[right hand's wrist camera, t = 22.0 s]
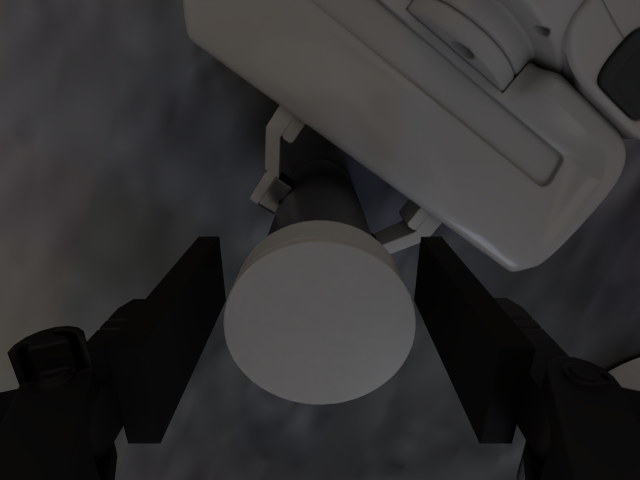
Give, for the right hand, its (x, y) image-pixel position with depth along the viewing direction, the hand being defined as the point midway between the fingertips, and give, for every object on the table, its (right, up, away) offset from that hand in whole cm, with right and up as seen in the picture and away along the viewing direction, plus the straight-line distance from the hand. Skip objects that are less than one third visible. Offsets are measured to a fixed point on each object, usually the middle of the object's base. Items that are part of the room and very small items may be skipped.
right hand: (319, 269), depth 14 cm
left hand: (0, +1, +6) cm, 6 cm away
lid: (0, -1, -3) cm, 4 cm away
